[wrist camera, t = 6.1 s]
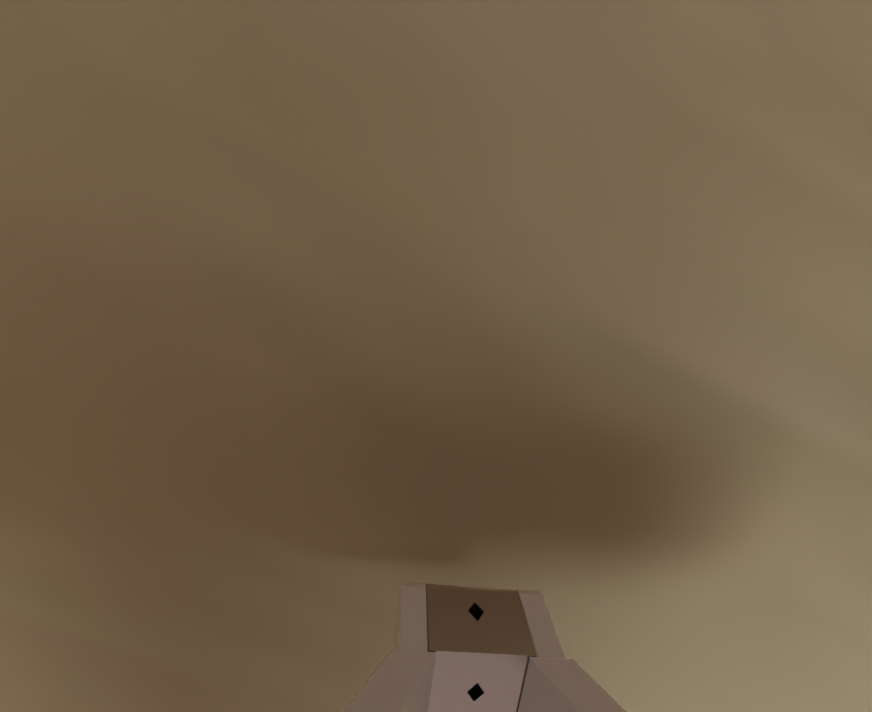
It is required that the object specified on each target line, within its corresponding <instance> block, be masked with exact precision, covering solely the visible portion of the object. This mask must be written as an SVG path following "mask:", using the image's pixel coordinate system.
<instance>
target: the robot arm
mask: <svg viewBox="0 0 872 712" xmlns="http://www.w3.org/2000/svg"><path fill="white" fill-rule="evenodd" d="M344 712H626V711H625V710H624V709H623V708H622V707H621V706H620V705H619V704H618V703H617V702H616V701H615V700H614V699H613V698H612V697H611V696H610V695H609V694H608V693H607V692H606V691H605V690H604V689H603V688H602V687H601V686H599V685H598V684H597V683H596V682H595V681H594V680H593V679H592V678H591V677H590V676H589V675H588V674H587V673H586V672H585V671H584V670H583V669H582V668H581V667H580V666H579V665H578V664H577V663H576V662H575V661H574V660H573V659H565V657H564V654H563V652H562V649H561V646H560V643H559V640H558V638H557V635H556V632H555V629H554V626H553V624H552V621H551V618H550V615H549V612H548V610H547V607H546V604H545V601H544V598H543V596H542V594H541V593H540V591H538V590H509V589H490V588H471V587H458V586H447V585H435V584H418V583H407V582H402V583H401V587H400V595H399V604H398V612H397V620H396V629H395V640H394V650H391V651H390V652H389V654H388V655H387V656H386V658H385V659H384V660H383V662H382V663H381V664H380V665H379V667H378V668H377V669H376V671H375V672H374V673H373V674H372V676H371V677H370V678H369V680H368V681H367V682H366V684H365V685H364V686H363V687H362V689H361V690H360V691H359V693H358V694H357V695H356V697H355V698H354V699H353V700H352V702H351V703H350V704H349V706H348V707H347V708H346V710H345V711H344Z"/></svg>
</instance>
